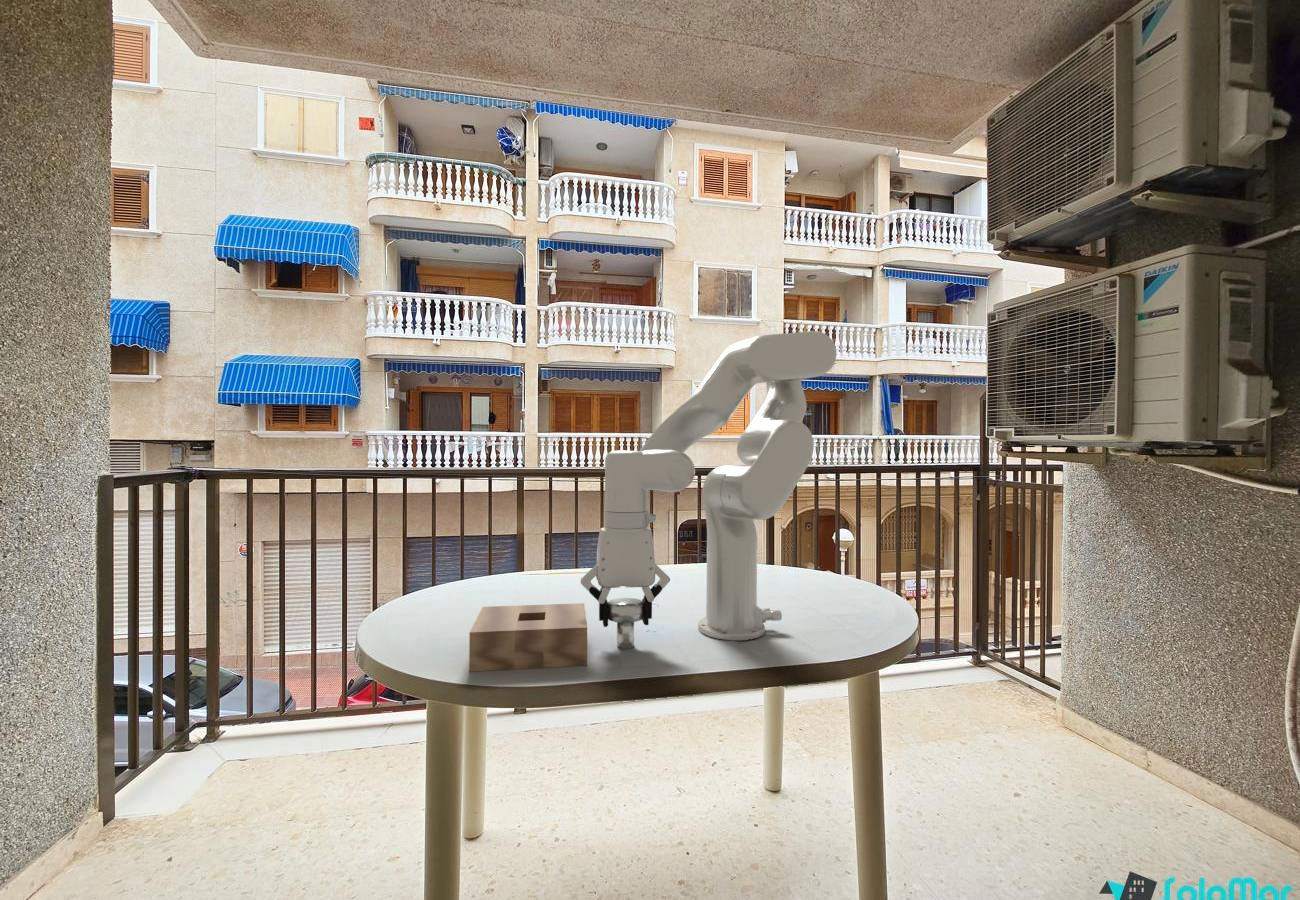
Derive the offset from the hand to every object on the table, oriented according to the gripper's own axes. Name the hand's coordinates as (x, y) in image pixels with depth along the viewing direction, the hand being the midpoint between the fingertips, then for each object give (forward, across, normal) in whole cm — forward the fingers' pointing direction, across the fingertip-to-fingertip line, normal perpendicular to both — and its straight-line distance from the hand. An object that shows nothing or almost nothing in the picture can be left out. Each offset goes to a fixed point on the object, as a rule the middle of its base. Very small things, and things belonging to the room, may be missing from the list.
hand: (625, 622), depth 97 cm
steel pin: (+4, 0, 0) cm, 4 cm away
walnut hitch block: (+4, +16, +1) cm, 16 cm away
